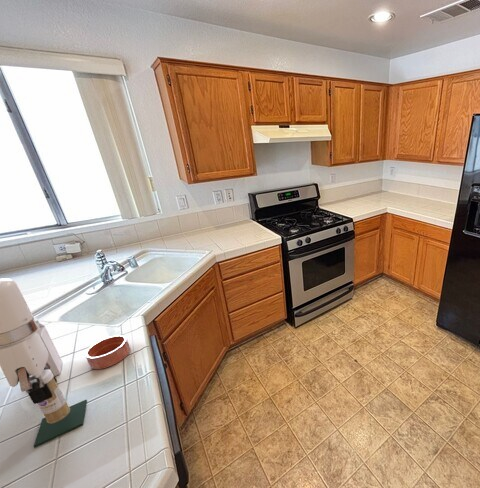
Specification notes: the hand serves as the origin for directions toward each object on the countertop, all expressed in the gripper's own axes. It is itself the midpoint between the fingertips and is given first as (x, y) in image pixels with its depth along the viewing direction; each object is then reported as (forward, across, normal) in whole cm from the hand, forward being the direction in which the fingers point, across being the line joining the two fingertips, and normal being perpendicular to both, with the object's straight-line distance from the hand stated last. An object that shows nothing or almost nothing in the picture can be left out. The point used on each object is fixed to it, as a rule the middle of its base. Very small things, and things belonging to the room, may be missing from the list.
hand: (46, 391), depth 65 cm
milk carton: (+11, -27, -8) cm, 30 cm away
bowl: (+11, -22, +10) cm, 26 cm away
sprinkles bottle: (+8, 0, 0) cm, 8 cm away
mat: (+11, 0, 0) cm, 11 cm away
